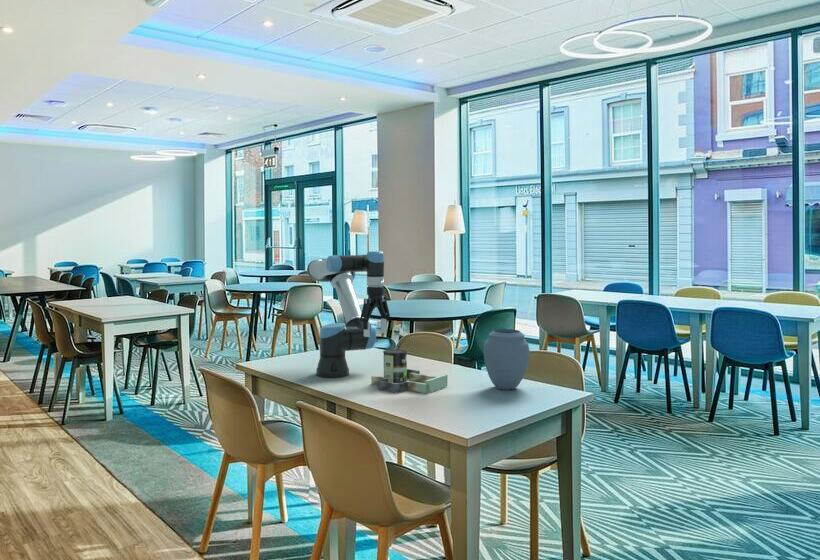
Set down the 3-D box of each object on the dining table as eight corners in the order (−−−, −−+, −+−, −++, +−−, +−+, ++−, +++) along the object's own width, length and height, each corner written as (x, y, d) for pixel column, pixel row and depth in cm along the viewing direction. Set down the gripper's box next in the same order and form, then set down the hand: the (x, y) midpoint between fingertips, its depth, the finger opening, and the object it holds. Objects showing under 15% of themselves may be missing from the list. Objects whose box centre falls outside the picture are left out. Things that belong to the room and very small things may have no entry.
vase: (524, 395, 265) (525, 335, 264) (477, 391, 272) (478, 332, 270) (532, 385, 284) (533, 329, 282) (488, 381, 290) (489, 326, 289)
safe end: (417, 391, 271) (417, 379, 271) (437, 384, 284) (437, 373, 283) (428, 393, 268) (428, 381, 268) (447, 386, 281) (447, 374, 281)
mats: (366, 386, 280) (366, 386, 280) (400, 376, 301) (400, 375, 301) (398, 391, 270) (398, 391, 270) (431, 380, 291) (431, 380, 291)
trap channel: (362, 386, 279) (362, 378, 279) (400, 375, 302) (400, 367, 302) (409, 394, 266) (409, 386, 266) (445, 382, 289) (445, 374, 289)
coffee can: (408, 381, 291) (409, 349, 290) (404, 386, 281) (404, 353, 280) (386, 379, 293) (386, 348, 292) (380, 385, 283) (380, 352, 282)
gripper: (365, 288, 278) (365, 339, 280) (397, 284, 298) (397, 332, 300) (351, 287, 282) (351, 337, 284) (384, 284, 302) (384, 330, 304)
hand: (375, 334), depth 292 cm, fingers open, 12 cm apart
